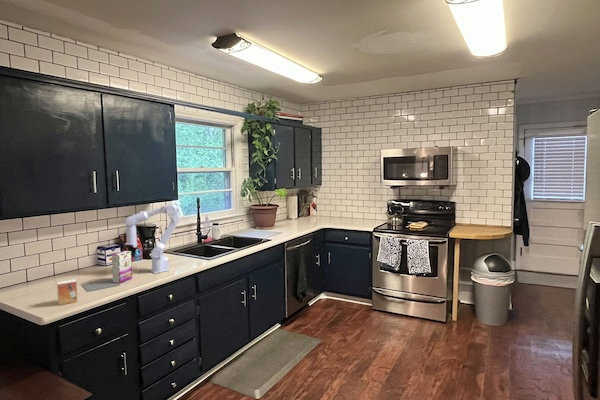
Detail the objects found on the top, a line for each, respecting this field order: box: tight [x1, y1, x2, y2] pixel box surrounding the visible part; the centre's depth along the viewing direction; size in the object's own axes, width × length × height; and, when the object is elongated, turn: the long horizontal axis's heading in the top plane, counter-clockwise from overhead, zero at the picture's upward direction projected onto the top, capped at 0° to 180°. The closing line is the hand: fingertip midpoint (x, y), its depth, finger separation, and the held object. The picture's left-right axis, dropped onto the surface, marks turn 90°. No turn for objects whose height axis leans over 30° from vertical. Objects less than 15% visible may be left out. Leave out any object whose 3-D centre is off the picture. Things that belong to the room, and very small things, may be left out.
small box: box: [56, 278, 78, 306], centre depth 185 cm, size 8×6×10 cm
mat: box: [81, 278, 120, 293], centre depth 212 cm, size 16×16×1 cm
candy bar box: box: [111, 250, 133, 284], centre depth 218 cm, size 11×5×16 cm, turn 168°
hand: (132, 257), depth 234 cm, fingers closed
